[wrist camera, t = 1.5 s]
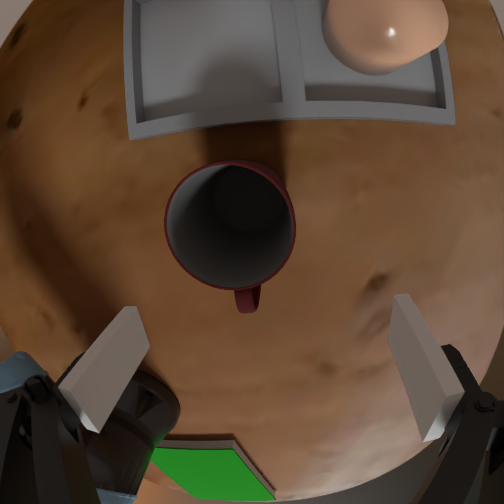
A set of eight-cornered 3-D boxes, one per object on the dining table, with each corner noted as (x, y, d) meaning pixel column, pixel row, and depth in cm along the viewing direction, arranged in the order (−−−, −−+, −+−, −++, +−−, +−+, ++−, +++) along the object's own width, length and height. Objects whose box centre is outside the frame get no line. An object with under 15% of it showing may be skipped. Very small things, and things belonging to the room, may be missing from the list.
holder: (141, 139, 28) (128, 140, 26) (135, -1, 22) (123, -9, 19) (443, 125, 24) (456, 125, 21) (417, -18, 18) (426, -27, 15)
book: (235, 436, 46) (232, 449, 43) (276, 490, 55) (275, 500, 52) (138, 435, 51) (133, 445, 48) (196, 489, 59) (193, 497, 57)
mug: (301, 262, 31) (305, 321, 21) (220, 270, 33) (191, 328, 23) (286, 147, 27) (285, 151, 17) (198, 161, 29) (151, 175, 19)
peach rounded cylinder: (327, 74, 24) (344, 47, 15) (316, -3, 20) (324, -48, 12) (414, 79, 22) (458, 62, 14) (400, 5, 19) (432, -30, 11)
